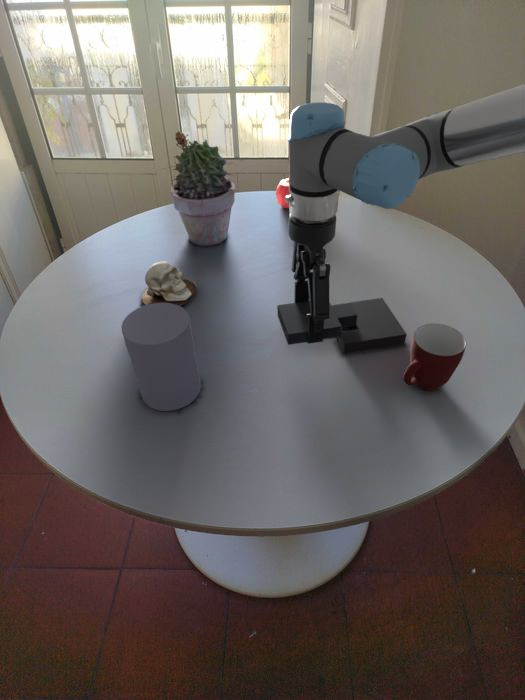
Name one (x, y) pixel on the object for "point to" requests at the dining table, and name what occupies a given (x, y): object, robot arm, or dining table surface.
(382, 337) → the base pad
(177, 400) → the container
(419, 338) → the mug
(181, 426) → the dining table surface
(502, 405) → the dining table surface
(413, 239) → the dining table surface
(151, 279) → the skull
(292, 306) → the pad
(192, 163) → the potted plant
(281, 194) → the apple
